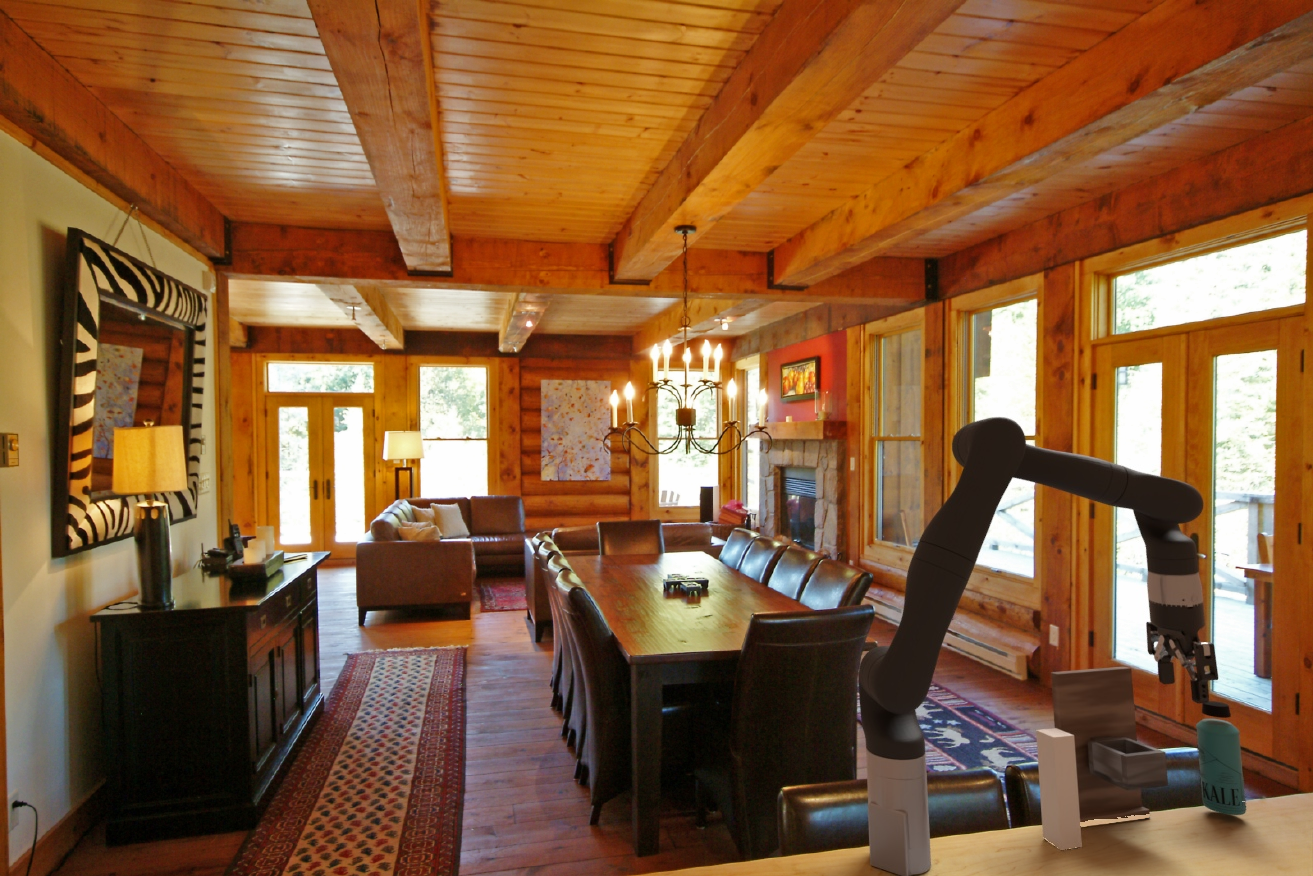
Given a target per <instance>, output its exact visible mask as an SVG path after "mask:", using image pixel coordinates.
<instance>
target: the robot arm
mask: <svg viewBox="0 0 1313 876" xmlns="http://www.w3.org/2000/svg"><path fill="white" fill-rule="evenodd" d="M1026 441H1027V439H1026V435H1025V431H1024V430H1023V428H1022V427H1021V426H1020V424H1018V422H1016V421H1015V420H1013V419H1011V418H1008V417H1003V416H994V417H987V418H984V419H980V420H976V421H973V422H970V423H968V424H965V425H963V426H962V427H961V428H959V430H958V431H957V432H956V433H955V434H954V436H953V439H952V442H951V451H952V455H953V458H954V459H955V461H956V462H957V463H958V465H959V466H961V467H962V468H963V469H962V471H961V473H960V476H959V479H958V481H957V484H956V486H955V488H954V489H953V491H952V493H951V494H950V495H949V497H948V499H947V500H946V501H945V503H943V504H942V506H941V507H940V508H939V510H938V511H937V512H936V513H935V515H934V516H933V517H932V519H931V520H930V521H929V523H928V524H927V526H926V527H925V529H924V531H923V532H922V534H921V536H920V538H919V541H918V543H917V546H916V547H915V550H914V553H913V555H912V558H911V560H910V563H909V567H908V568H907V569H908V570H907V575H906V579H905V588H904V590H905V591H904V601H903V610H902V615H901V619H900V622H899V625H898V627H897V630H896V632H895V634H894V636H893V638H892V641H891V643H890V644H889V646H888V645H887V646H886V645H879V646H876V647H873V648H872V649H870V650H868V651H867V652H866V653H865V654H864V655H863V657H862V659H861V661H860V663H859V668H858V695H859V699H858V700H859V708H860V710H859V711H860V720H861V721H860V722H861V727H862V730H863V733H864V739H865V753H866V754H865V757H866V778H867V779H866V780H867V801H868V802H867V803H868V804H867V816H868V822H867V823H868V838H869V839H868V845H869V858H870V859H869V863H870V866H873V867H874V868H878V869H881V870H884V871H887V872H889V873H893V874H896V875H898V876H913V875H920V874H924V873H926V872H927V871H929V870H930V869H931V867H932V855H931V839H930V838H931V836H930V820H929V819H930V817H929V801H928V798H929V797H928V796H929V795H928V777H927V759H926V757H927V756H926V740H925V736H924V733H923V731H922V728H921V725H920V723H919V721H918V717H917V713H916V710H917V709H918V708H919V707H920V706H922V704H923V702H924V701H925V700H926V698H927V696H928V694H929V691H930V687H931V685H932V681H933V678H934V674H935V670H936V666H937V663H938V660H939V656H940V653H941V648H942V646H943V643H944V640H945V636H946V634H947V632H948V630H949V627H950V626H951V622H952V621H953V618H954V616H955V613H956V611H957V608H958V605H959V603H960V601H961V598H962V596H963V594H964V591H965V590H966V587H967V585H968V583H969V581H970V578H971V575H972V573H973V571H974V568H975V566H976V564H977V560H978V558H979V554H980V552H981V549H982V546H983V545H984V542H985V539H986V538H987V535H988V533H989V529H990V527H991V524H992V522H993V519H994V516H995V513H996V512H997V509H998V507H999V504H1000V502H1001V501H1002V499H1003V496H1004V495H1005V493H1006V491H1007V489H1008V487H1009V485H1010V483H1011V481H1012V479H1018V480H1022V481H1026V482H1031V483H1035V484H1038V485H1039V484H1040V485H1043V486H1045V487H1049V488H1052V489H1055V490H1060V491H1062V492H1065V493H1068V494H1071V495H1074V496H1077V497H1081V498H1084V499H1087V500H1090V501H1094V502H1097V503H1101V504H1103V505H1106V506H1111V507H1115V508H1121V509H1129V510H1132V511H1133V514H1134V515H1133V516H1134V518H1135V523H1136V525H1137V527H1138V530H1139V532H1140V536H1141V538H1142V540H1143V543H1144V545H1145V554H1146V566H1147V579H1146V587H1147V599H1148V609H1149V619H1150V621H1146V623H1145V625H1146V627H1145V628H1146V644H1147V645H1146V646H1147V652H1148V654H1149V655H1150V656H1151V655H1152V656H1153V659H1154V661H1155V662H1156V663H1157V671H1158V672H1157V673H1158V682H1159V683H1161V684H1163V685H1172V684H1173V685H1174V684H1175V681H1176V678H1175V667H1174V662H1173V660H1174V658H1175V659H1177V660H1178V662H1179V663H1180V665H1181V667H1183V668H1185V669H1186V671H1187V673H1188V675H1189V677H1190V691H1191V693H1190V694H1191V701H1192V702H1194V703H1195V704H1202V703H1208V702H1209V701H1210V695H1209V692H1210V691H1209V681H1218V680H1219V673H1218V664H1217V658H1216V657H1217V656H1216V650H1215V649H1216V647H1215V645H1214V643H1213V642H1210V641H1209V642H1208V641H1207V642H1206V641H1205V642H1204V641H1201V639H1200V636H1199V631H1200V630H1201V629H1203V628H1205V626H1206V619H1205V618H1206V617H1205V609H1204V607H1205V606H1204V598H1203V596H1204V595H1203V585H1202V581H1201V577H1200V572H1199V563H1198V562H1199V559H1198V552H1197V546H1196V543H1195V540H1193V539H1192V538H1190V537H1189V536H1187V535H1185V534H1184V533H1183V531H1182V530H1181V528H1180V525H1181V524H1187V523H1190V522H1192V521H1194V520H1196V519H1197V518H1198V517H1199V516H1200V515H1201V514H1202V512H1203V510H1204V500H1203V499H1204V498H1203V497H1202V494H1201V493H1200V492H1199V491H1198V489H1196V487H1195V486H1193V485H1191V484H1189V483H1186V482H1184V481H1182V480H1178V479H1173V478H1170V477H1166V476H1161V475H1157V474H1151V473H1146V472H1141V471H1138V470H1135V469H1132V468H1130V467H1127V466H1124V465H1122V464H1118V463H1113V462H1111V461H1108V460H1104V459H1101V458H1097V457H1093V456H1088V455H1084V454H1079V453H1073V452H1072V453H1071V452H1066V451H1059V450H1058V451H1057V450H1053V449H1048V448H1044V447H1043V448H1042V447H1039V446H1035V445H1031V444H1028V443H1027V442H1026ZM1155 643H1156V645H1155ZM1207 667H1208V668H1209V670H1208V668H1207ZM1195 668H1196V669H1195Z"/></svg>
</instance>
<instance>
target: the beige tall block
mask: <svg viewBox="0 0 1313 876" xmlns="http://www.w3.org/2000/svg"><path fill="white" fill-rule="evenodd" d="M1035 733H1036V735H1035V737H1036V749H1037V750H1036V751H1037V762H1038V763H1037V764H1038V779H1039V794H1040V795H1039V797H1040V809H1041V811H1040V812H1041V825H1042V826H1041V827H1042V838H1043V837H1044V838H1046V839H1047V840H1048V841H1049V842H1051V843H1053V844H1054V845H1055V846H1056V847H1058V848H1059V849H1060V850H1059V849H1058V848H1057V849H1058V850H1059V851H1061V850H1064V851H1068V850H1067V849H1069V848H1075V847H1082V848H1083V844H1082V843H1083V841H1082V830H1081V829H1082V828H1081V826H1080V812H1079V798H1078V784H1077V769H1076V755H1075V741H1074V735H1072V734H1069V733H1067V732H1064V731H1062V730H1059V729H1057V728H1055V727H1053V728H1043V729H1036V730H1035ZM1056 847H1055V848H1056ZM1065 849H1066V850H1065Z"/></svg>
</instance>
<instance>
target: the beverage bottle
mask: <svg viewBox="0 0 1313 876" xmlns="http://www.w3.org/2000/svg"><path fill="white" fill-rule="evenodd" d="M1201 704H1202V705H1201V706H1202V707H1201V713H1202V715H1205V716H1209V717H1213V718H1203V719H1202V720H1199V722H1197V723H1196V726H1195V727H1196V734H1197V736H1196V737H1197V739H1196V742H1197V745H1196V749H1197V757H1198V762H1199V763H1198V766H1199V768H1198V773H1199V782H1200V783H1199V785H1200V786H1199V787H1200V797H1201V798H1200V799H1202V800H1201V801H1202V803H1203V805H1204V807H1205V808H1207V809H1209V810H1210V811H1213V812H1216V813H1220V814H1223V815H1229V816H1243V815H1245V814H1246V811H1247V806H1246V805H1247V803H1246V802H1247V798H1246V797H1247V796H1246V791H1245V789H1246V788H1245V783H1244V782H1245V779H1244V775H1243V774H1244V773H1243V763H1242V754H1241V753H1242V750H1241V740H1240V730H1239V729H1238V728H1237V727H1236V726H1234V724H1233V723H1231V722H1230V721H1227V720H1223V718H1224V719H1227V718H1231V717H1232V715H1231V714H1232V713H1231V710H1230V706H1229V704H1228V703H1225V702H1222V701H1221V702H1220V701H1215V700H1209V702H1208V703H1201ZM1218 718H1221V719H1218ZM1242 801H1245V802H1242Z"/></svg>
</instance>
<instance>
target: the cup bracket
mask: <svg viewBox="0 0 1313 876" xmlns="http://www.w3.org/2000/svg"><path fill="white" fill-rule="evenodd" d="M1132 670H1133V669H1132V668H1131V667H1127V666H1116V667H1115V666H1114V667H1113V666H1112V667H1104V668H1103V667H1102V668H1089V669H1078V670H1077V669H1075V670H1065V671H1063V670H1062V671H1052V672H1050V679H1051V680H1050V681H1051V691H1052V692H1051V695H1052V708H1053V722H1054V723H1053V724H1054V728H1057V729H1059V730H1062V731H1064V732H1067V733H1069V734H1072V735H1074V741H1075V755H1076V769H1077V784H1078V798H1079V812H1080V822H1085V821H1088V820H1094V819H1118V818H1117V817H1121V818H1128V817H1127V816H1131V815H1134V816H1135V815H1146V814H1150V815H1151V810H1150V809H1149V808H1146V807H1145V806H1143V800H1142V790H1146V789H1152V788H1160V787H1161V788H1162V787H1168V786H1169V778H1168V767H1167V754H1166V753H1167V752H1166V751H1164V750H1161V749H1159V748H1155V747H1152V746H1151V745H1148V744H1144V743H1142V742H1139V741H1138V737H1137V724H1136V721H1137V720H1136V710H1135V698H1134V684H1133V673H1132V672H1133V671H1132ZM1125 816H1126V817H1125Z"/></svg>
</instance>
